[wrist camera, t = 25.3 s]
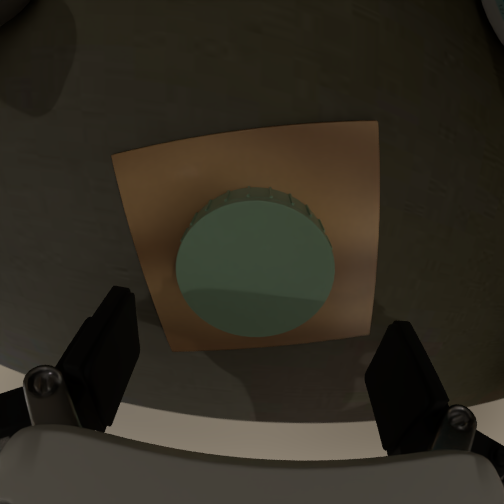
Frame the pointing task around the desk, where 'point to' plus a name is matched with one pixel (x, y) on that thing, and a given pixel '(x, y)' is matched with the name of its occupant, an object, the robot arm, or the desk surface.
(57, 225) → the desk surface
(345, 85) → the desk surface
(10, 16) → the plastic bottle
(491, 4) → the pill bottle
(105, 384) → the robot arm
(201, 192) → the coaster
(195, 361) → the desk surface
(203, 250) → the jam lid
